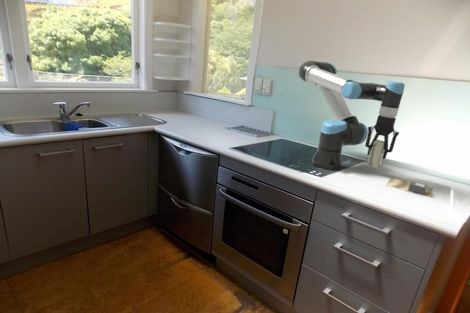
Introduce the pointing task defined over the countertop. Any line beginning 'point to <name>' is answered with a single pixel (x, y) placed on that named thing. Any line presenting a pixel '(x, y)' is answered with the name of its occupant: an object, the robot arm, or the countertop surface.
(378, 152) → the box
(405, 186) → the board
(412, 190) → the gray block
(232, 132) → the countertop surface
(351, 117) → the robot arm
